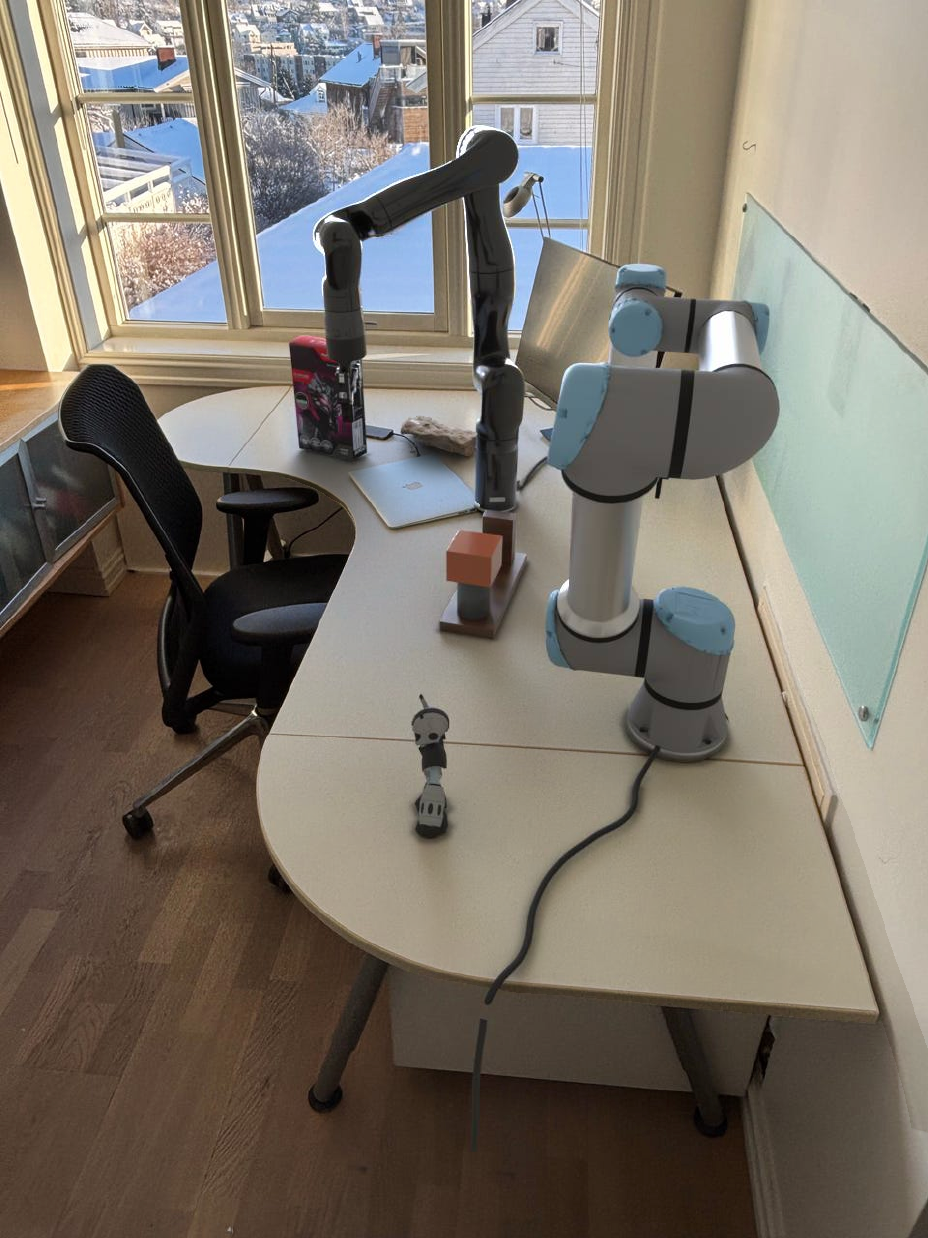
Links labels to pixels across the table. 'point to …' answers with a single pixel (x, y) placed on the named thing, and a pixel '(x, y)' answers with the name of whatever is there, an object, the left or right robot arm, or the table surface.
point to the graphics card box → (323, 403)
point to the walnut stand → (487, 605)
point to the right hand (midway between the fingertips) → (617, 490)
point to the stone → (440, 435)
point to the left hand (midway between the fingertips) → (352, 413)
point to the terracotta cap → (474, 558)
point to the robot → (431, 769)
